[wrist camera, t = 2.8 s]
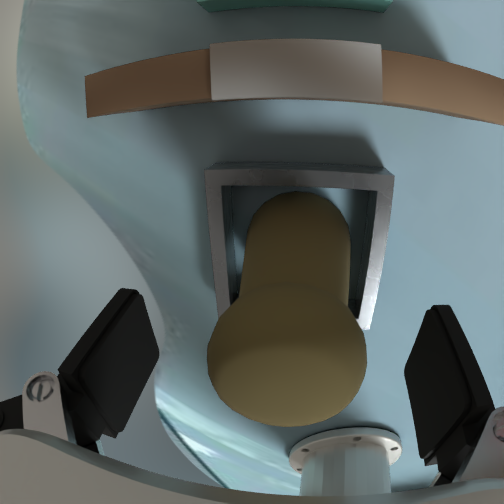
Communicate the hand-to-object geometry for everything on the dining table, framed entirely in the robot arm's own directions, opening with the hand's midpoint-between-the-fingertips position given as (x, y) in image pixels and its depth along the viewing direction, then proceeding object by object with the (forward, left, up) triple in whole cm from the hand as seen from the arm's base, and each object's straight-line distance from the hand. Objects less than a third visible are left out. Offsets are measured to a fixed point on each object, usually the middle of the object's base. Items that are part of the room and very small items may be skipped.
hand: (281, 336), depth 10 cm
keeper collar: (-1, 0, -9) cm, 9 cm away
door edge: (+8, 0, -9) cm, 12 cm away
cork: (-1, 0, -9) cm, 9 cm away
